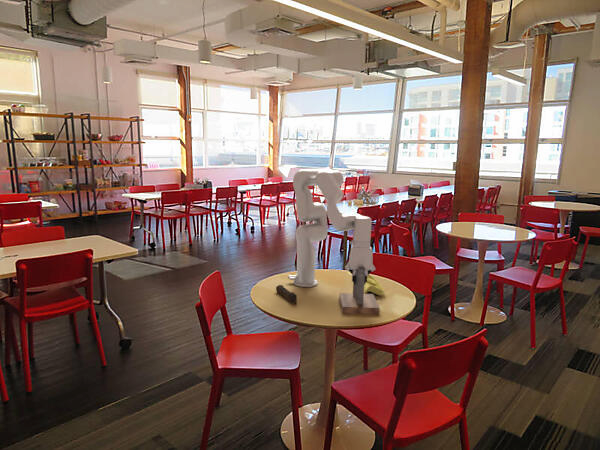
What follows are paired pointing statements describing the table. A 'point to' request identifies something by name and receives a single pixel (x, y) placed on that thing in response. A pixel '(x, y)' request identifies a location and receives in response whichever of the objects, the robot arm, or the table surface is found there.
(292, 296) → the hand tool
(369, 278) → the plastic component
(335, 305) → the table surface
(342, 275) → the table surface
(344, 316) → the table surface
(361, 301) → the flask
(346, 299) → the brown flat square piece
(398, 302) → the table surface
